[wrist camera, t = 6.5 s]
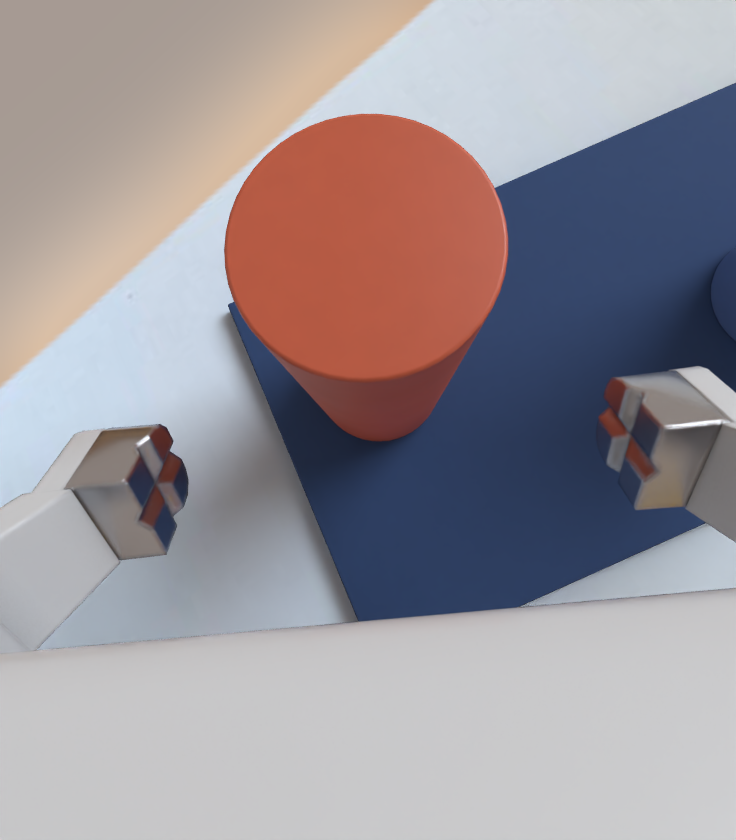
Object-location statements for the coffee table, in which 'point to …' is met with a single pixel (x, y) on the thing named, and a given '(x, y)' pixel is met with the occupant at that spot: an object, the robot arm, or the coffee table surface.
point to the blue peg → (725, 293)
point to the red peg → (367, 265)
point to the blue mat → (535, 384)
